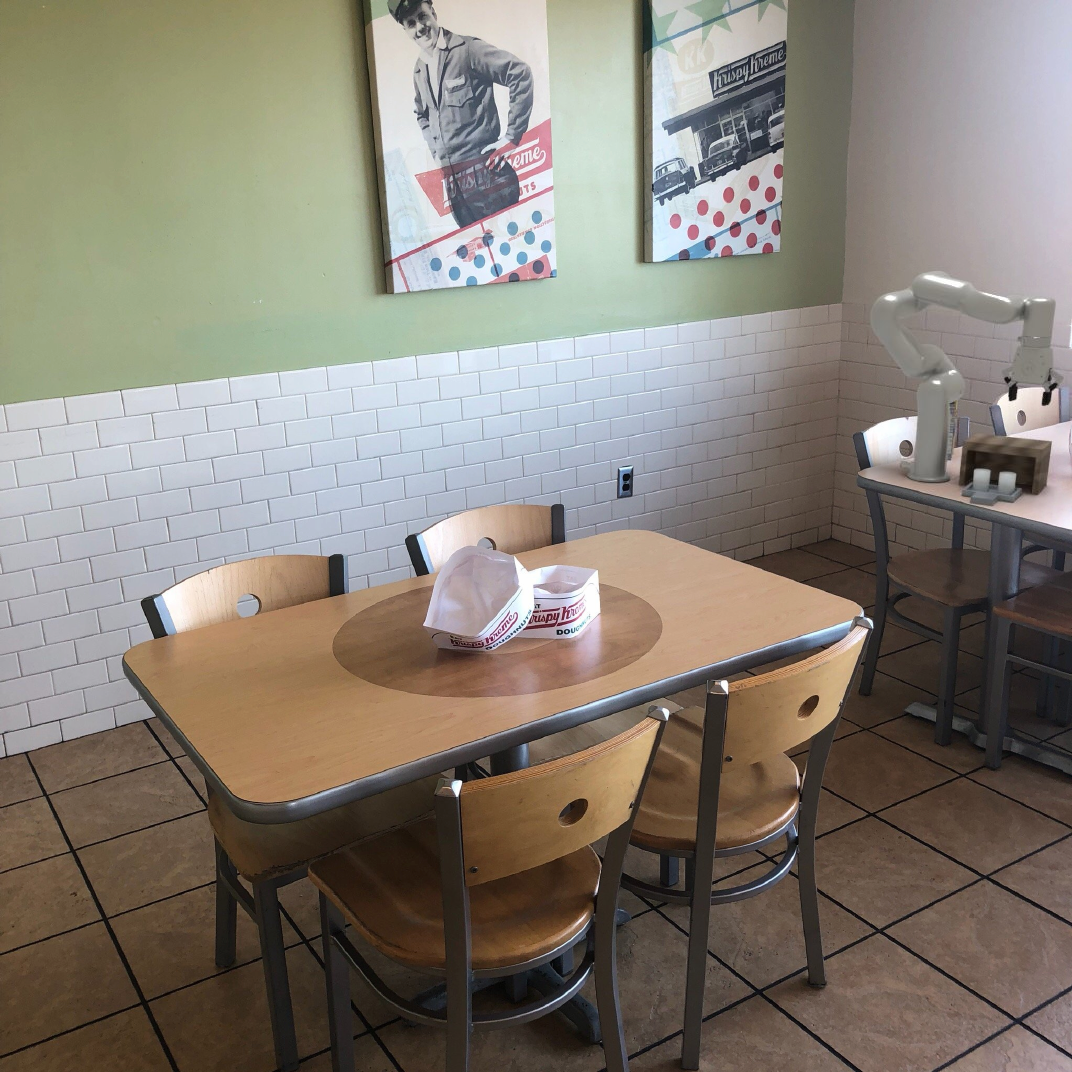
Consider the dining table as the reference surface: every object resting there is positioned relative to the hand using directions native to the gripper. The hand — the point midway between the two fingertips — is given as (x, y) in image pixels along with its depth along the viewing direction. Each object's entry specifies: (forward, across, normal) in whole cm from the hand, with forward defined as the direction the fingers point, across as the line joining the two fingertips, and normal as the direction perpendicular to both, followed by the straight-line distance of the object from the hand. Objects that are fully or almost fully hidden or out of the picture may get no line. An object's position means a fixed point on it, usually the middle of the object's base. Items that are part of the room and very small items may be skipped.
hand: (1028, 402), depth 300 cm
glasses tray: (+27, -3, -11) cm, 29 cm away
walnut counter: (+26, -7, +4) cm, 28 cm away
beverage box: (+27, -40, +24) cm, 54 cm away
